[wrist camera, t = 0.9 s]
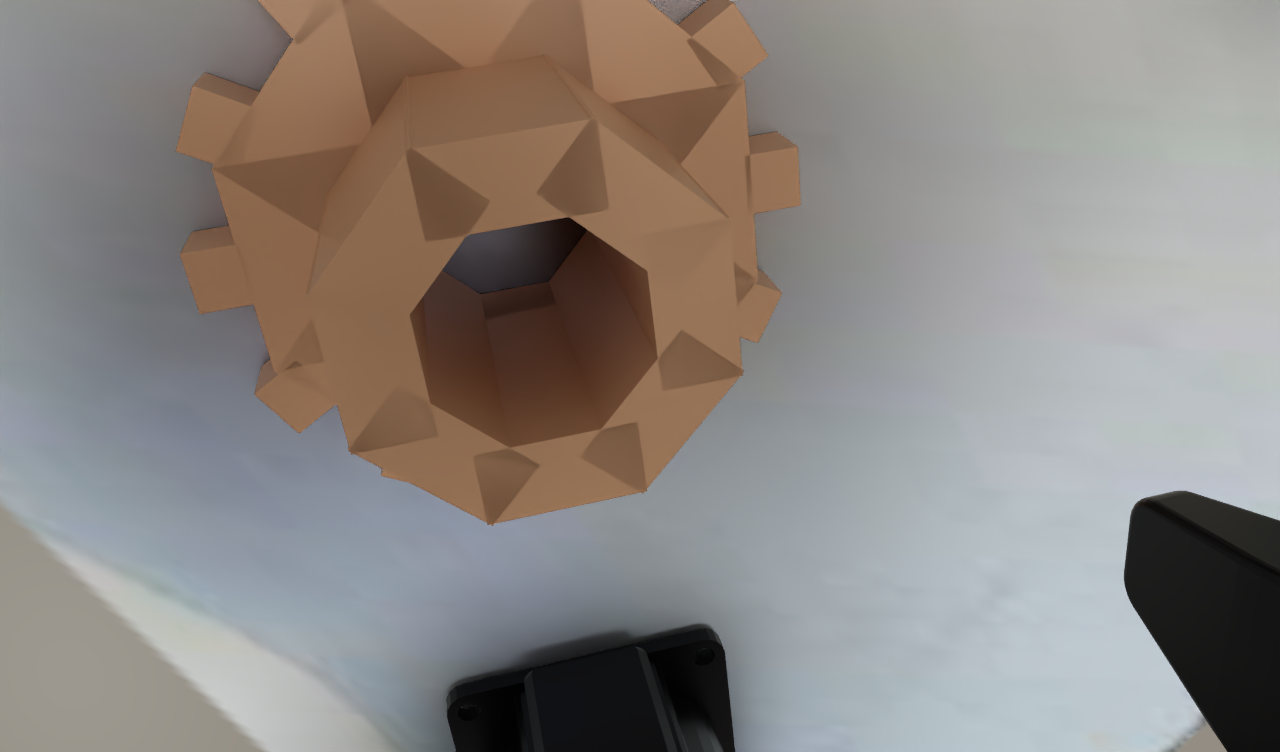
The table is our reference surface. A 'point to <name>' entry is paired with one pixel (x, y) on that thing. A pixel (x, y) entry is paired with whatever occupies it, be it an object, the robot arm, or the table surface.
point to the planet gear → (485, 201)
